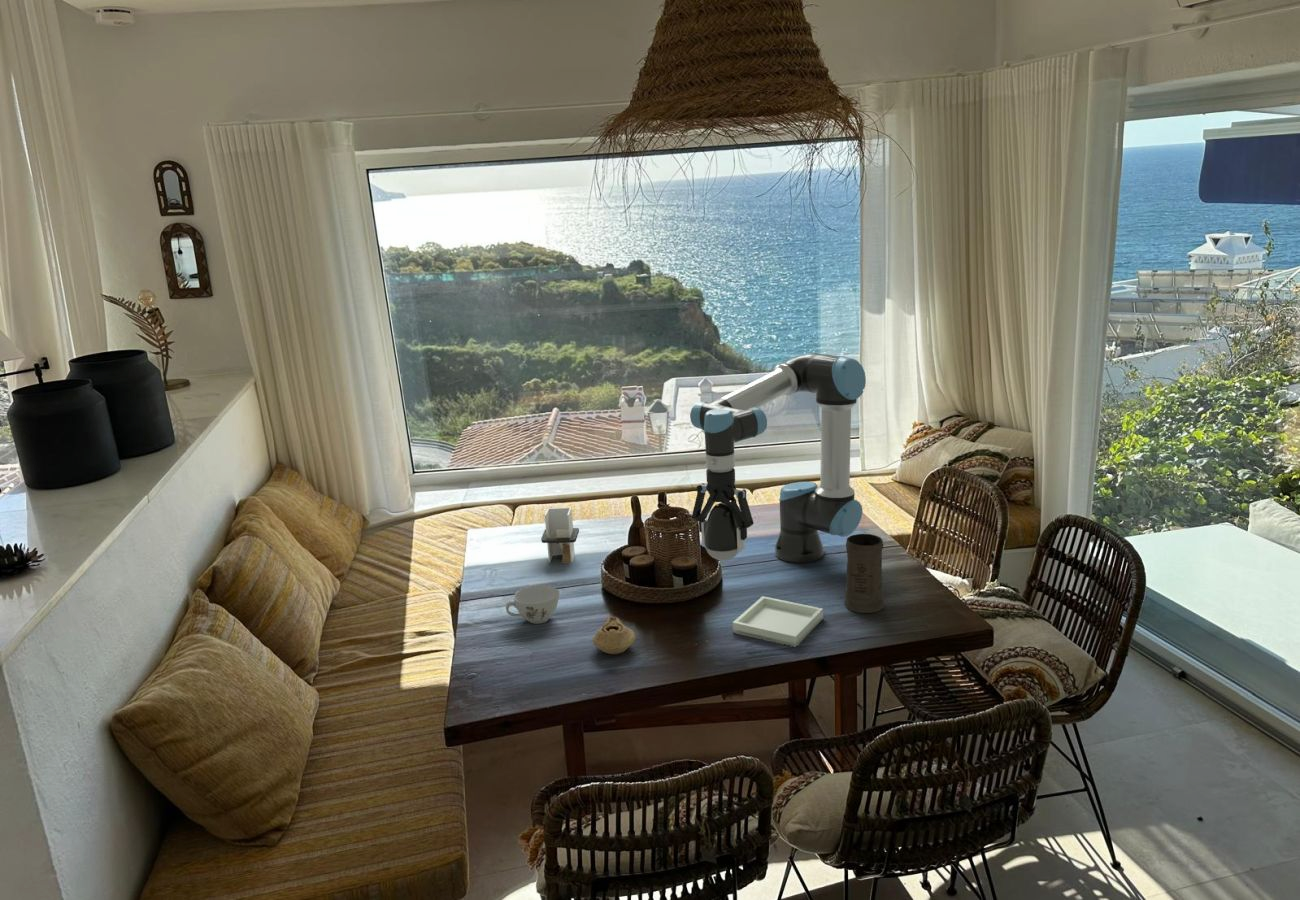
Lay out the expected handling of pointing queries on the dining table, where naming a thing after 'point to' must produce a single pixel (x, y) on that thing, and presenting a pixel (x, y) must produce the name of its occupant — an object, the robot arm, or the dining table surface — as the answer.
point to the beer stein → (864, 573)
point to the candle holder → (560, 533)
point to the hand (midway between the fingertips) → (723, 546)
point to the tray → (778, 621)
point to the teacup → (535, 603)
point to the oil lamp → (614, 637)
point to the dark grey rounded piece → (721, 533)
